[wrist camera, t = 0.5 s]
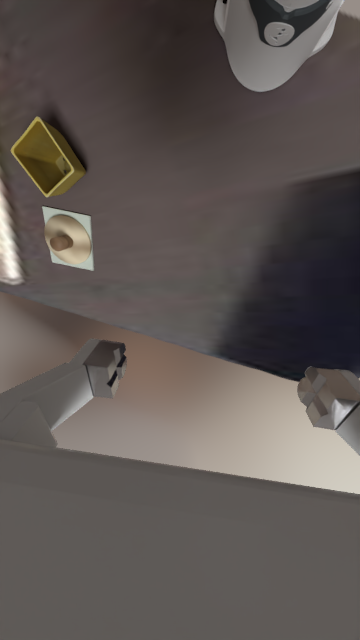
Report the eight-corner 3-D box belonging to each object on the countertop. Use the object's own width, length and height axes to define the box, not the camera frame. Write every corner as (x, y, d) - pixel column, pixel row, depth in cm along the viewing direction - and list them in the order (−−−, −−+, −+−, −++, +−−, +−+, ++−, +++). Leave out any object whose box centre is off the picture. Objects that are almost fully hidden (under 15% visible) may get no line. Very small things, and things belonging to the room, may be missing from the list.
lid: (42, 210, 48) (25, 211, 43) (89, 220, 48) (77, 222, 43) (51, 258, 54) (37, 263, 50) (93, 267, 54) (82, 273, 50)
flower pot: (71, 199, 46) (45, 198, 39) (43, 159, 43) (8, 149, 35) (97, 176, 44) (74, 170, 36) (69, 131, 40) (37, 114, 32)
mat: (43, 206, 48) (42, 206, 47) (90, 216, 48) (89, 216, 48) (53, 261, 55) (52, 262, 55) (94, 270, 55) (93, 270, 55)
